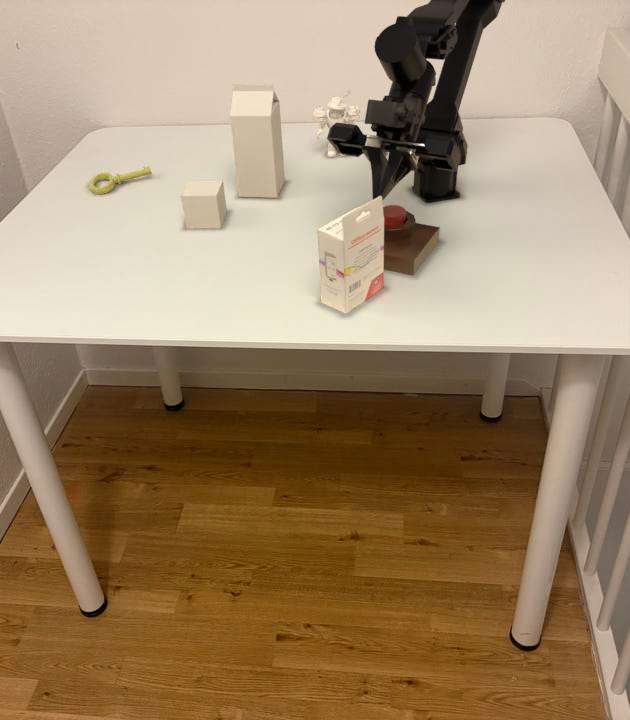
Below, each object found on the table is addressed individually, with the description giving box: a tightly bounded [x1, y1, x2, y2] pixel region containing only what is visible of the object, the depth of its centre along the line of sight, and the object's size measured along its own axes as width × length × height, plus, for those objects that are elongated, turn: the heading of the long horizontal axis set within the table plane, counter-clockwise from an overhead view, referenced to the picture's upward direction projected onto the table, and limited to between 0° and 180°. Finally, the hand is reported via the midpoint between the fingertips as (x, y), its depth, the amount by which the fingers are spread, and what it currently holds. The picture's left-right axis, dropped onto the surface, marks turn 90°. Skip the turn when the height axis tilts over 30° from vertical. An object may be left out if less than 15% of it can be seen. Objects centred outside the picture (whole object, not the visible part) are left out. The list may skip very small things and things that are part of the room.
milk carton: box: [229, 83, 286, 199], centre depth 127 cm, size 7×7×19 cm
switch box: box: [384, 210, 441, 277], centre depth 112 cm, size 11×13×4 cm
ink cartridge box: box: [316, 196, 385, 314], centre depth 99 cm, size 9×5×15 cm, turn 136°
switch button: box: [383, 204, 407, 226], centre depth 111 cm, size 4×4×2 cm
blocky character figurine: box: [312, 90, 361, 158], centre depth 141 cm, size 9×4×12 cm, turn 89°
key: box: [88, 165, 152, 195], centre depth 140 cm, size 7×12×2 cm, turn 123°
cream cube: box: [180, 179, 228, 229], centre depth 123 cm, size 6×6×6 cm
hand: (376, 202), depth 104 cm, fingers closed
